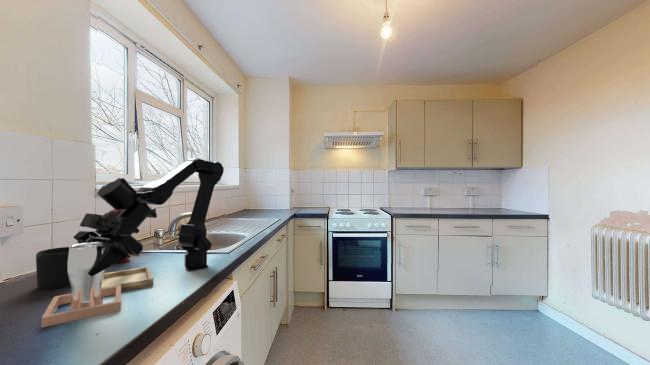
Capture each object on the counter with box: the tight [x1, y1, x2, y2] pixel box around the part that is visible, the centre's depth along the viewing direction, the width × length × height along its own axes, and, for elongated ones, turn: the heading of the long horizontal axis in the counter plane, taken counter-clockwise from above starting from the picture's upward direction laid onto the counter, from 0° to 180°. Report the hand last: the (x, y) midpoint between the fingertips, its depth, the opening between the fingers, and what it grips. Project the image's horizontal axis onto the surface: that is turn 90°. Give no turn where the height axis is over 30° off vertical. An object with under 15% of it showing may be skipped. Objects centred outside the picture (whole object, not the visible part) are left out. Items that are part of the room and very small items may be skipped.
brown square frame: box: [41, 285, 122, 329], centre depth 64 cm, size 13×13×2 cm
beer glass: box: [67, 242, 106, 311], centre depth 64 cm, size 7×7×15 cm
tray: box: [101, 266, 154, 292], centre depth 79 cm, size 14×14×2 cm
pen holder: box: [35, 246, 71, 291], centre depth 78 cm, size 9×9×10 cm
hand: (80, 273), depth 63 cm, fingers closed on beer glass, 7 cm apart
